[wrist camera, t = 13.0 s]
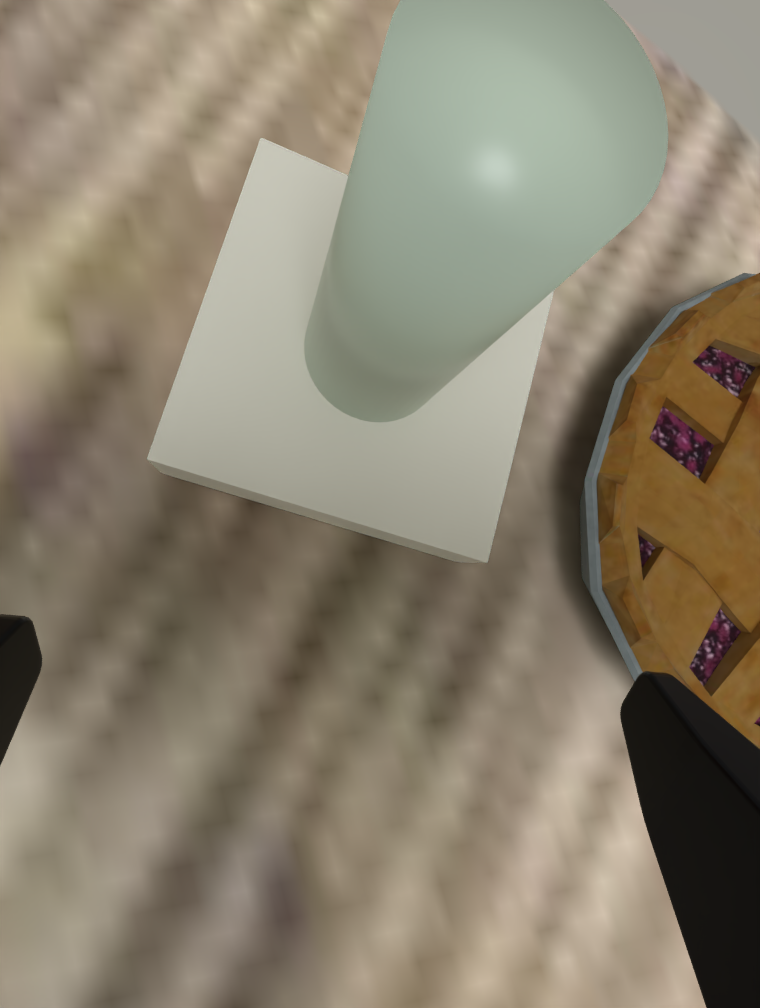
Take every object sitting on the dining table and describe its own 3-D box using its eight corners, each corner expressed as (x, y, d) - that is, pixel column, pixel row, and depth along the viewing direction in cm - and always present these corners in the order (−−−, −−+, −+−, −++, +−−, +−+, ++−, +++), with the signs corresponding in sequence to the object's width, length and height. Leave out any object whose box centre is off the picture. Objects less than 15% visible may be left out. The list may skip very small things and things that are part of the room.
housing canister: (380, 451, 19) (553, 309, 8) (273, 348, 18) (314, 58, 8) (467, 357, 20) (716, 128, 10) (370, 257, 20) (518, -100, 9)
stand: (457, 562, 23) (487, 562, 20) (161, 473, 20) (146, 459, 17) (522, 301, 24) (559, 267, 22) (259, 192, 22) (260, 137, 19)
